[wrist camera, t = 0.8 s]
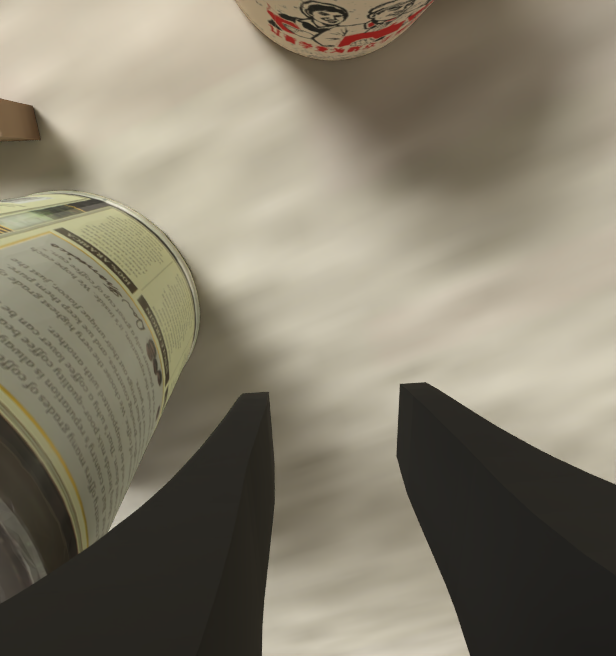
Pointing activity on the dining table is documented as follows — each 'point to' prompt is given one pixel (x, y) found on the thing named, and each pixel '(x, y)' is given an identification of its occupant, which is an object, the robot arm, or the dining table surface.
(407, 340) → the dining table surface
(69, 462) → the coffee can
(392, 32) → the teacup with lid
